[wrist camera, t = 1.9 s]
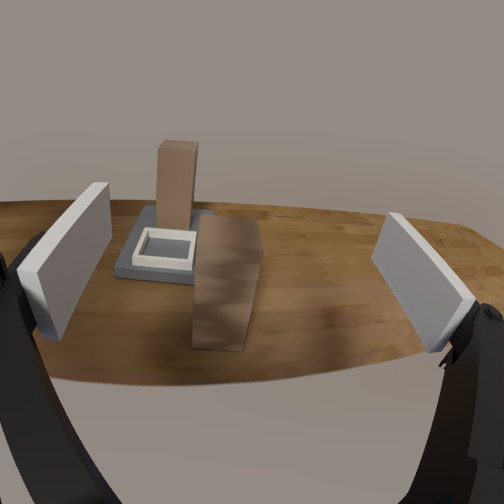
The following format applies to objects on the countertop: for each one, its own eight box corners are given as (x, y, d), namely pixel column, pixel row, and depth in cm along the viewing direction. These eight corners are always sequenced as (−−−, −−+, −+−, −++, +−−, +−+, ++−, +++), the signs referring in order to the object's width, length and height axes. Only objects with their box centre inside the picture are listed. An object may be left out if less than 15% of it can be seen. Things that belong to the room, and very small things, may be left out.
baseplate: (114, 277, 36) (106, 172, 29) (144, 212, 51) (146, 135, 44) (209, 286, 38) (220, 180, 30) (213, 218, 53) (222, 140, 45)
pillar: (192, 348, 29) (196, 243, 23) (194, 313, 33) (201, 213, 27) (242, 351, 30) (263, 249, 24) (240, 316, 34) (257, 219, 28)
